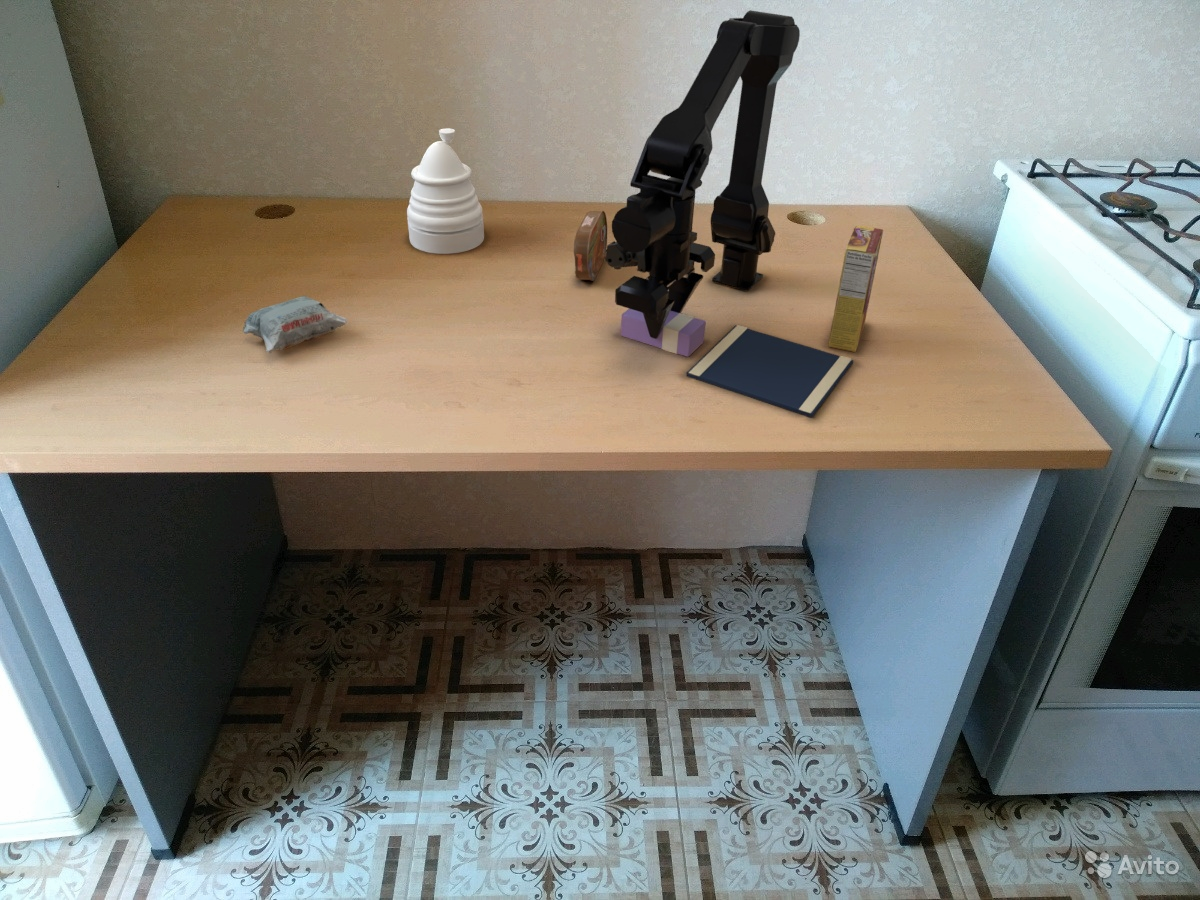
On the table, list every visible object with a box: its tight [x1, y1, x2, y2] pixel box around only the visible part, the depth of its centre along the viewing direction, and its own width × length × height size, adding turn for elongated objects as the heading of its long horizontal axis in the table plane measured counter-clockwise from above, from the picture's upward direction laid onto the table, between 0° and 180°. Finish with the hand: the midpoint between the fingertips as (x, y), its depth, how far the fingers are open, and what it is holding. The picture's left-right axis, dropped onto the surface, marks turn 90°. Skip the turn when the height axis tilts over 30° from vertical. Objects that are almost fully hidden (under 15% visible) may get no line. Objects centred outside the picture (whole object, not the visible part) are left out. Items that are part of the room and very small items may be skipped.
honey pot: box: [406, 127, 485, 255], centre depth 149 cm, size 13×13×18 cm
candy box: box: [827, 225, 884, 353], centre depth 126 cm, size 9×4×15 cm, turn 158°
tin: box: [573, 210, 608, 282], centre depth 144 cm, size 15×3×8 cm, turn 168°
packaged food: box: [242, 295, 348, 354], centre depth 124 cm, size 9×12×5 cm
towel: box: [686, 324, 854, 419], centre depth 122 cm, size 16×18×1 cm
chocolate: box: [620, 308, 707, 358], centre depth 127 cm, size 5×11×4 cm, turn 59°
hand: (662, 329), depth 127 cm, fingers closed on chocolate, 5 cm apart
